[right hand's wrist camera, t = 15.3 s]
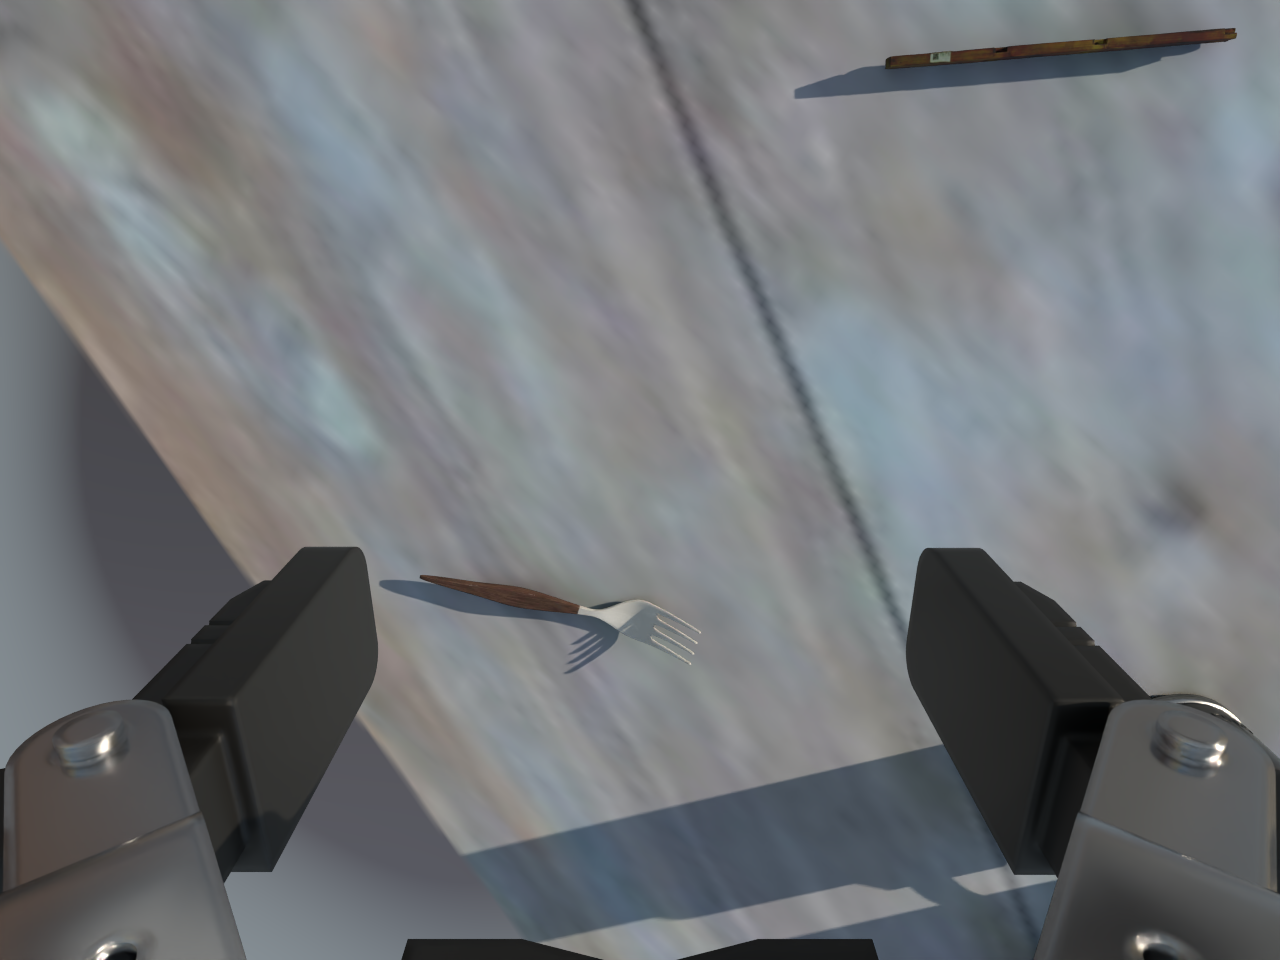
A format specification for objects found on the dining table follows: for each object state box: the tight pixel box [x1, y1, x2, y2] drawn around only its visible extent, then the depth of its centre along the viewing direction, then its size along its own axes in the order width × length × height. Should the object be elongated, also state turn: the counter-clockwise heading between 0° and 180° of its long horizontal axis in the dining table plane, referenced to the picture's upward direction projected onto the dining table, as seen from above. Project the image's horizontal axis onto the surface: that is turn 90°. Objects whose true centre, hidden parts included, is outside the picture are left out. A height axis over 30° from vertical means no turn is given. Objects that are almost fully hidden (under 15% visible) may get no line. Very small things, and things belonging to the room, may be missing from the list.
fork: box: [420, 575, 701, 665], centre depth 43 cm, size 3×16×2 cm, turn 76°
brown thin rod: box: [885, 28, 1237, 69], centre depth 34 cm, size 15×1×1 cm, turn 94°
